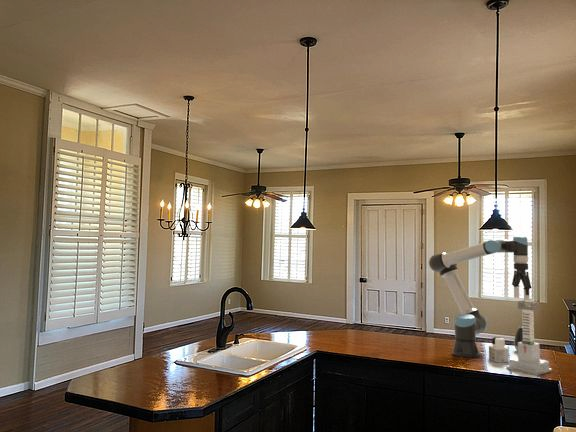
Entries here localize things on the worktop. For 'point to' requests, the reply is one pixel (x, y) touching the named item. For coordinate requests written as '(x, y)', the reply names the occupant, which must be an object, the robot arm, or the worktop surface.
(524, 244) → the robot arm
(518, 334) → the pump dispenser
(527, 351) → the jack stand base
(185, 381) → the worktop surface
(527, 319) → the jack stand column
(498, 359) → the container
